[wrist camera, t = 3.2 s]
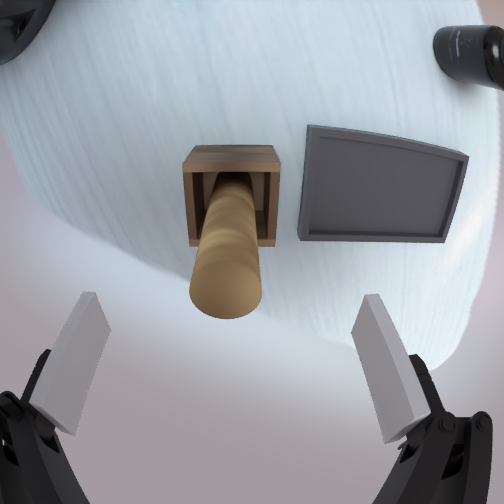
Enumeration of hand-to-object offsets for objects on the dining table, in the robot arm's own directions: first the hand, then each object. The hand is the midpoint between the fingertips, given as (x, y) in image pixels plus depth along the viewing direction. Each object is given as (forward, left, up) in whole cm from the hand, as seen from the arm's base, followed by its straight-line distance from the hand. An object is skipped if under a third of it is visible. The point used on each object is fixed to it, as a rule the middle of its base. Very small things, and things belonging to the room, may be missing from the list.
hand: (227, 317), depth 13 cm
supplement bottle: (+24, +18, -18) cm, 35 cm away
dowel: (0, 0, -17) cm, 17 cm away
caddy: (0, 0, -18) cm, 18 cm away
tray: (+17, 0, -18) cm, 25 cm away
